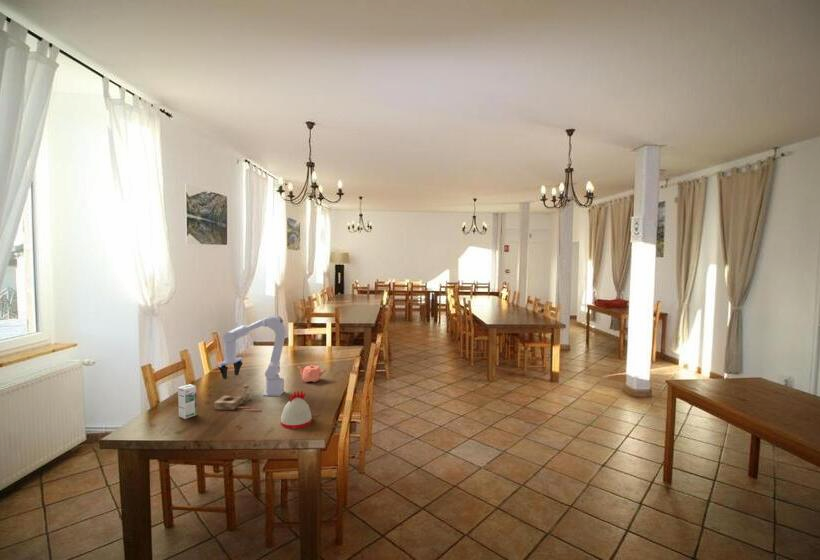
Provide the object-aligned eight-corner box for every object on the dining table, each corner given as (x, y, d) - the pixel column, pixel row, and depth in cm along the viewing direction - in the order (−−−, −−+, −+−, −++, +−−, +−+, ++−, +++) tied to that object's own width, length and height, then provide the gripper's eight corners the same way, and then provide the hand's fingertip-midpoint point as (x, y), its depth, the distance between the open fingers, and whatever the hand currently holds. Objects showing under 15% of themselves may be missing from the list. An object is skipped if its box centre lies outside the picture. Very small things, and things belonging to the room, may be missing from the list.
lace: (264, 408, 197) (264, 407, 197) (261, 411, 194) (261, 410, 193) (234, 407, 198) (234, 406, 198) (231, 410, 194) (231, 409, 194)
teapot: (317, 376, 252) (317, 361, 252) (326, 381, 243) (326, 365, 242) (296, 381, 243) (296, 365, 242) (305, 385, 234) (305, 369, 233)
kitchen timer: (315, 424, 179) (315, 392, 179) (285, 431, 172) (285, 398, 171) (306, 414, 191) (306, 384, 190) (277, 420, 184) (277, 389, 183)
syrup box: (184, 419, 183) (184, 389, 182) (178, 416, 186) (177, 386, 185) (196, 415, 188) (196, 385, 187) (190, 412, 191) (189, 383, 190)
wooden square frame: (242, 402, 205) (242, 396, 205) (233, 409, 195) (233, 403, 195) (224, 402, 205) (224, 395, 205) (214, 409, 195) (214, 402, 195)
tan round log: (250, 399, 210) (250, 384, 210) (247, 401, 207) (247, 386, 207) (244, 398, 210) (244, 384, 210) (242, 400, 207) (242, 386, 207)
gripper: (236, 349, 224) (236, 372, 225) (213, 354, 211) (214, 379, 212) (245, 350, 221) (245, 374, 222) (222, 356, 208) (222, 381, 209)
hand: (230, 376), depth 217 cm, fingers open, 7 cm apart
